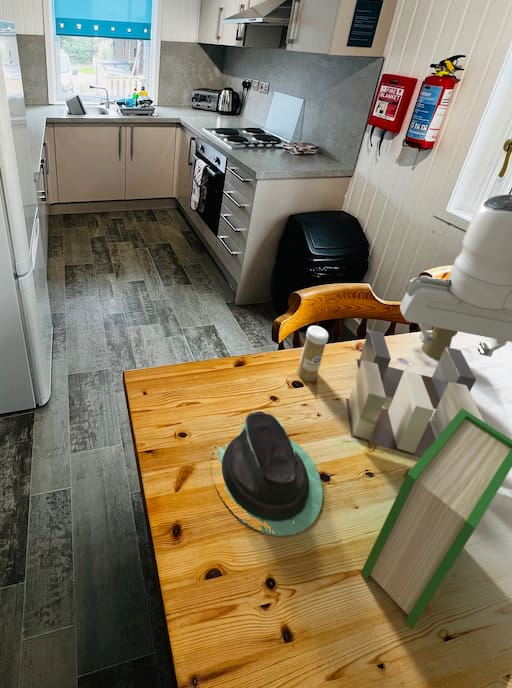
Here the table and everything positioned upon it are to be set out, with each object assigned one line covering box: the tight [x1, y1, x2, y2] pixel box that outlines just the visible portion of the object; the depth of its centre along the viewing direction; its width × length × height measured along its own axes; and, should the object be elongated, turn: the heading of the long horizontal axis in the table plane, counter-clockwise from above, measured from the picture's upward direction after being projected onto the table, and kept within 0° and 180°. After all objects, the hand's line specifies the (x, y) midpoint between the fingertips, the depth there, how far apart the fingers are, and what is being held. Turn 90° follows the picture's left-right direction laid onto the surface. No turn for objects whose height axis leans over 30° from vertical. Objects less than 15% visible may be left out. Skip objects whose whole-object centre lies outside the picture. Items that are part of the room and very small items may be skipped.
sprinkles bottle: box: [296, 325, 329, 383], centre depth 93 cm, size 5×5×13 cm
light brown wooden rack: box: [345, 360, 485, 459], centre depth 79 cm, size 20×10×13 cm, turn 72°
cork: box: [421, 326, 458, 361], centre depth 101 cm, size 6×6×11 cm
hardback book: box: [360, 409, 512, 629], centre depth 57 cm, size 18×7×24 cm, turn 125°
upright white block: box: [387, 369, 435, 453], centre depth 79 cm, size 3×9×12 cm, turn 161°
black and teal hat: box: [214, 410, 324, 537], centre depth 72 cm, size 15×19×20 cm
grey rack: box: [356, 329, 477, 410], centre depth 91 cm, size 20×10×11 cm, turn 72°
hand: (453, 347), depth 74 cm, fingers open, 8 cm apart
